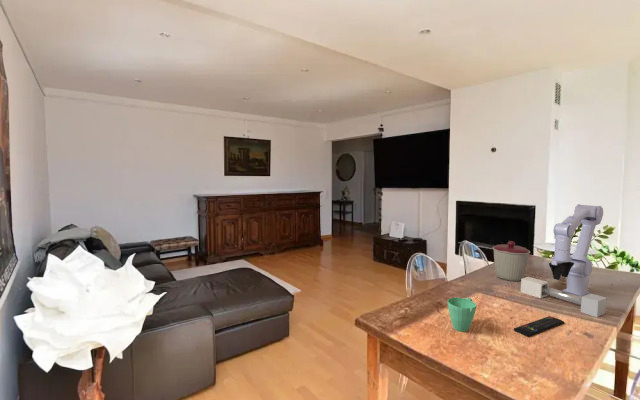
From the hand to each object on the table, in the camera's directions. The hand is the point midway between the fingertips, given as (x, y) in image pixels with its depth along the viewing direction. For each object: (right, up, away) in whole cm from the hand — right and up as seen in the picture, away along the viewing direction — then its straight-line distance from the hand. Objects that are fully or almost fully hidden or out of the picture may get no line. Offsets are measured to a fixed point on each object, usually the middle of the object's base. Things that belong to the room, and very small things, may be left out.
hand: (560, 277), depth 146 cm
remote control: (-29, -13, -27) cm, 41 cm away
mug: (-58, -12, -27) cm, 65 cm away
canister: (-6, -8, +30) cm, 31 cm away
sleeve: (-8, -9, +6) cm, 14 cm away
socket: (+3, -11, -14) cm, 18 cm away
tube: (-2, -9, -5) cm, 10 cm away
